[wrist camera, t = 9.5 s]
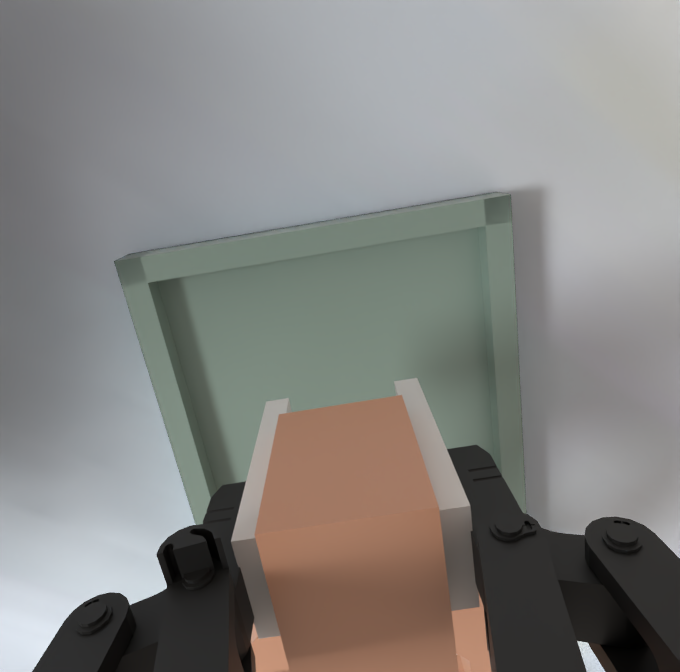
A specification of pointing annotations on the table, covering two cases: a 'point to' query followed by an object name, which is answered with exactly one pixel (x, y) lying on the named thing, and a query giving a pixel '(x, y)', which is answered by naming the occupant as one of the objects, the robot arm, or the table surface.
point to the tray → (333, 330)
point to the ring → (358, 550)
